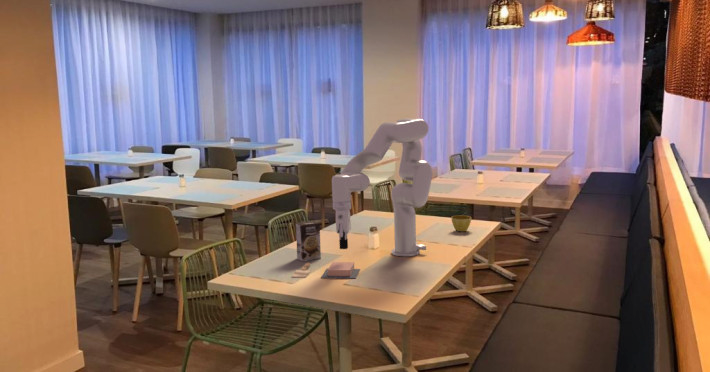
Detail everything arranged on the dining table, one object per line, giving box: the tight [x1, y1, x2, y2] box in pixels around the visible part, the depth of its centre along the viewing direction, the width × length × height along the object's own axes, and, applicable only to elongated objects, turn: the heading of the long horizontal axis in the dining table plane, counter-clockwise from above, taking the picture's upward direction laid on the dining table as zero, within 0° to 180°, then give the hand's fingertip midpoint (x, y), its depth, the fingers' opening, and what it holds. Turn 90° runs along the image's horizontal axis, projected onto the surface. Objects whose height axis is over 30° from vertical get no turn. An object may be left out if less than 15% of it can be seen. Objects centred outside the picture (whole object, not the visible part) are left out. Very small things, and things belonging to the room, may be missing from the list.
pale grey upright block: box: [327, 261, 355, 276], centre depth 242 cm, size 9×3×11 cm
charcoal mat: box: [320, 268, 361, 280], centre depth 241 cm, size 14×12×1 cm
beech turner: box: [291, 262, 311, 279], centre depth 246 cm, size 17×6×1 cm, turn 172°
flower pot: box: [451, 214, 472, 232], centre depth 307 cm, size 10×10×7 cm
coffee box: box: [295, 220, 322, 262], centre depth 264 cm, size 9×6×16 cm
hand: (343, 248), depth 247 cm, fingers closed
